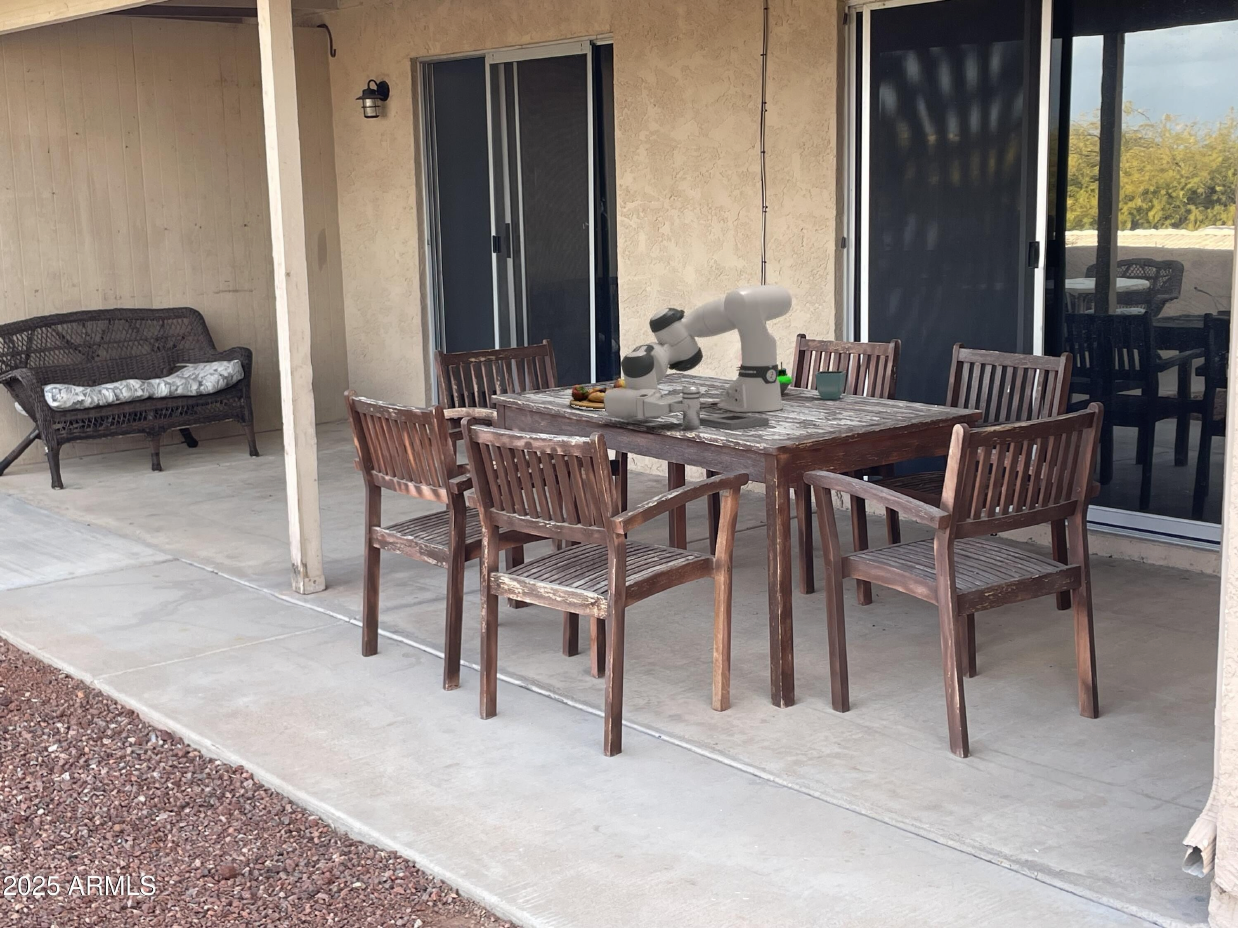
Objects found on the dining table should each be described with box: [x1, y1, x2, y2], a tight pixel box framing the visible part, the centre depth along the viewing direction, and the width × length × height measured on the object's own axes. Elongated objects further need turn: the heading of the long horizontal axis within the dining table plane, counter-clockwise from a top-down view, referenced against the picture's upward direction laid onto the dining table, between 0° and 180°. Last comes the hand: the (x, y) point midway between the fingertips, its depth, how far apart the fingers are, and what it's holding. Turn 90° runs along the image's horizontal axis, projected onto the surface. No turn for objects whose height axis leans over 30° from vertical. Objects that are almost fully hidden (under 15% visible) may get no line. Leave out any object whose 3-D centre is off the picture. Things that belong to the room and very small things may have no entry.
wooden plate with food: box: [568, 378, 626, 409], centre depth 460 cm, size 32×32×8 cm
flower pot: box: [814, 370, 847, 401], centre depth 456 cm, size 9×9×9 cm
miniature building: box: [777, 361, 793, 395], centre depth 473 cm, size 12×12×11 cm
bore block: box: [700, 412, 770, 431], centre depth 406 cm, size 16×14×2 cm
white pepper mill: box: [681, 385, 701, 431], centre depth 401 cm, size 5×5×12 cm
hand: (693, 406), depth 400 cm, fingers closed on white pepper mill, 5 cm apart
